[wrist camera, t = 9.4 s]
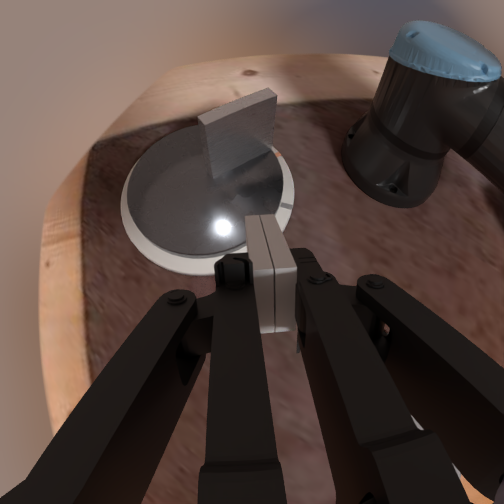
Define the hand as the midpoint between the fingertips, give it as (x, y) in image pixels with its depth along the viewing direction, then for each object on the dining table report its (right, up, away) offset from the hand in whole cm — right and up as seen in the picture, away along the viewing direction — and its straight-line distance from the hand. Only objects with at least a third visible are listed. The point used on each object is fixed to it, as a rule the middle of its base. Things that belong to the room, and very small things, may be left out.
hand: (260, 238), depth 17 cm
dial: (-6, +7, +20) cm, 22 cm away
